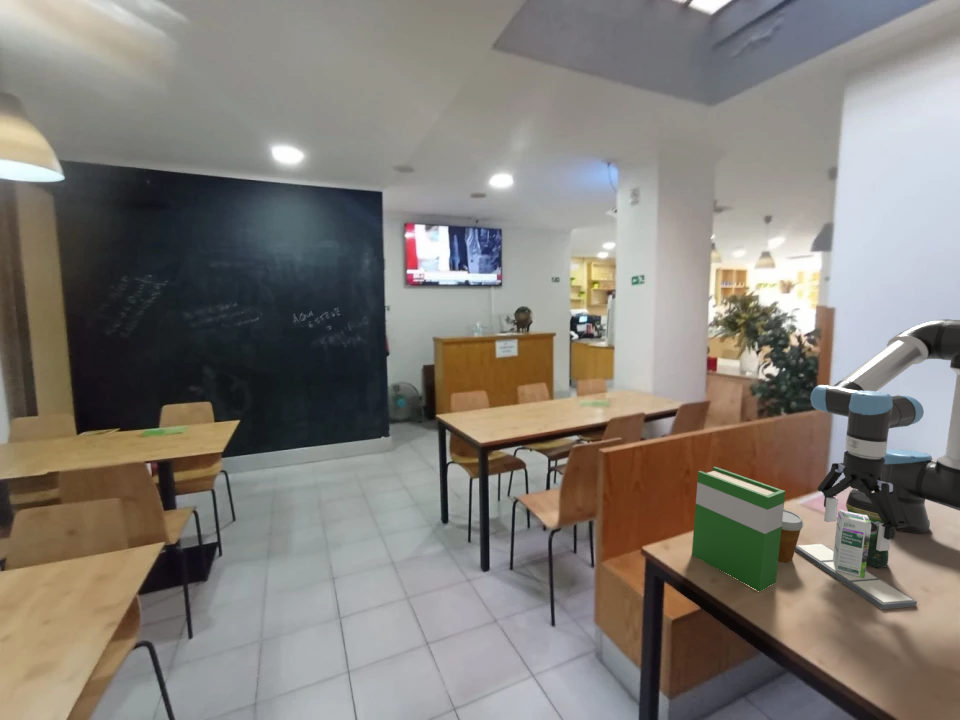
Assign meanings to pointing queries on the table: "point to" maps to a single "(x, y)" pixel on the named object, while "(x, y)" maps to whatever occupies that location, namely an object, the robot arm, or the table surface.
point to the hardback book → (738, 526)
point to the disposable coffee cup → (789, 535)
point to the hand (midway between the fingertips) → (854, 534)
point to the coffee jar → (864, 506)
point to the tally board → (857, 579)
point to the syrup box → (851, 543)
